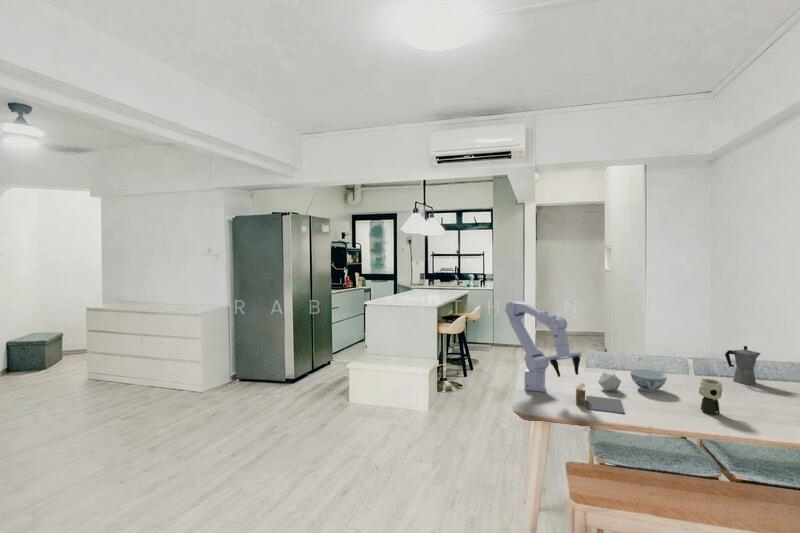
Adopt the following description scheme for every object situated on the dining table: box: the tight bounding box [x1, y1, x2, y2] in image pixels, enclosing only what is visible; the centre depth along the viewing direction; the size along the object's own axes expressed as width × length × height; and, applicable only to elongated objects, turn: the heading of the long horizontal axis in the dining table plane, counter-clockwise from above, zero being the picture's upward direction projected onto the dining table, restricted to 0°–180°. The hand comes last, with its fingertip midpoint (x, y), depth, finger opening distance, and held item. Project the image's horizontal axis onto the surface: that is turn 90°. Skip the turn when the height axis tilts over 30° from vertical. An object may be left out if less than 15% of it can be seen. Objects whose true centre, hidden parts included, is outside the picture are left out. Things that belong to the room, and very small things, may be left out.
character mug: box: [698, 378, 723, 415], centre depth 174 cm, size 11×7×13 cm, turn 101°
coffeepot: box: [724, 345, 761, 386], centre depth 212 cm, size 15×9×18 cm, turn 79°
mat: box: [585, 395, 625, 415], centre depth 184 cm, size 14×16×1 cm
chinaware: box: [629, 368, 668, 393], centre depth 202 cm, size 15×15×8 cm
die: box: [597, 372, 622, 392], centre depth 202 cm, size 8×9×10 cm
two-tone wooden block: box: [575, 382, 586, 407], centre depth 187 cm, size 4×9×7 cm, turn 158°
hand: (568, 375), depth 189 cm, fingers open, 7 cm apart
